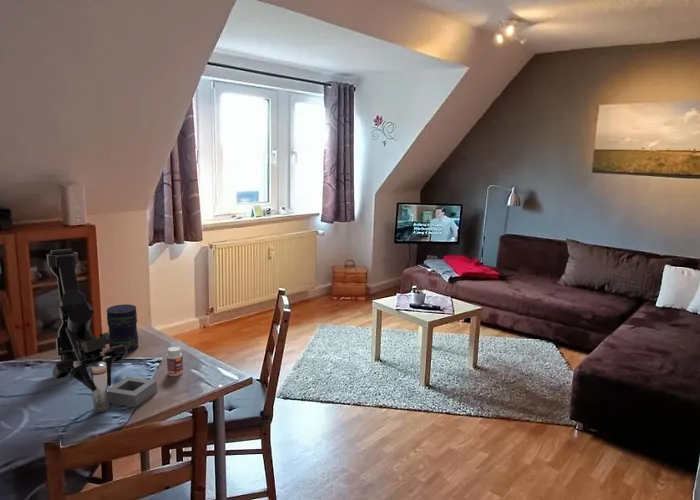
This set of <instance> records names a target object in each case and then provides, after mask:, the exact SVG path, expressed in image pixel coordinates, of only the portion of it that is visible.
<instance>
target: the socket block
mask: <svg viewBox="0 0 700 500" xmlns="http://www.w3.org/2000/svg"><path fill="white" fill-rule="evenodd" d="M157 392H158V386H157V380H155V379H154V380H153V379H146V378H141V377H134V376H128V375H127V376H126V377H124V378H123V379H121V380H120V381H118V382H116V383H115V384H113V385H111V386H109V387H108V394H109V404H112V405H120V406H127V407H131V408H136V407H138V406H139V405H141V404H142V403H144V402H145V401H146V400H148V399H149V398H150V397H151V396H153V395H155V393H157Z"/></svg>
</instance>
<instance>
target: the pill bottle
mask: <svg viewBox="0 0 700 500" xmlns="http://www.w3.org/2000/svg"><path fill="white" fill-rule="evenodd" d="M183 363H184V362H183V353H182V349H181V347H180V346H170V347H168V348H167V355H166V366H167V367H166V368H167V375H168V376H170V377H171V376H172V377H177V376H180V375H182V374H183V373H184V369H183V368H184V366H183Z"/></svg>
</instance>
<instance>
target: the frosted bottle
mask: <svg viewBox="0 0 700 500" xmlns="http://www.w3.org/2000/svg"><path fill="white" fill-rule="evenodd" d="M89 367H90V368H89V371H90V378H91V380H92V382H93V384H94V387H95V391H94V392H93V391H91V393H92V405H93V412H95V413H102V412H106V411H108V410H109V409H110V403H109V394H108V388H109V386H108V380H107V366H106V363H105V362H96V363H93V364H91V365H89Z"/></svg>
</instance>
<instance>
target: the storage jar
mask: <svg viewBox="0 0 700 500" xmlns="http://www.w3.org/2000/svg"><path fill="white" fill-rule="evenodd" d="M106 315H107V316H106V322H107V323H106V324H107V326H108V334H109V336H110V338H111V343H109V344H108V346H109V349H110V348H111V347H114V346H118V345H124V346H125V347H126V349H127V351H128V352H127V353H126V354H128V353H131V352H134V351H136V350H138V349H139V346H140V345H139V333H138V330H137V323H138V312H137V306H136V305H134V304H116V305H113V306H110V307H107V309H106Z"/></svg>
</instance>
